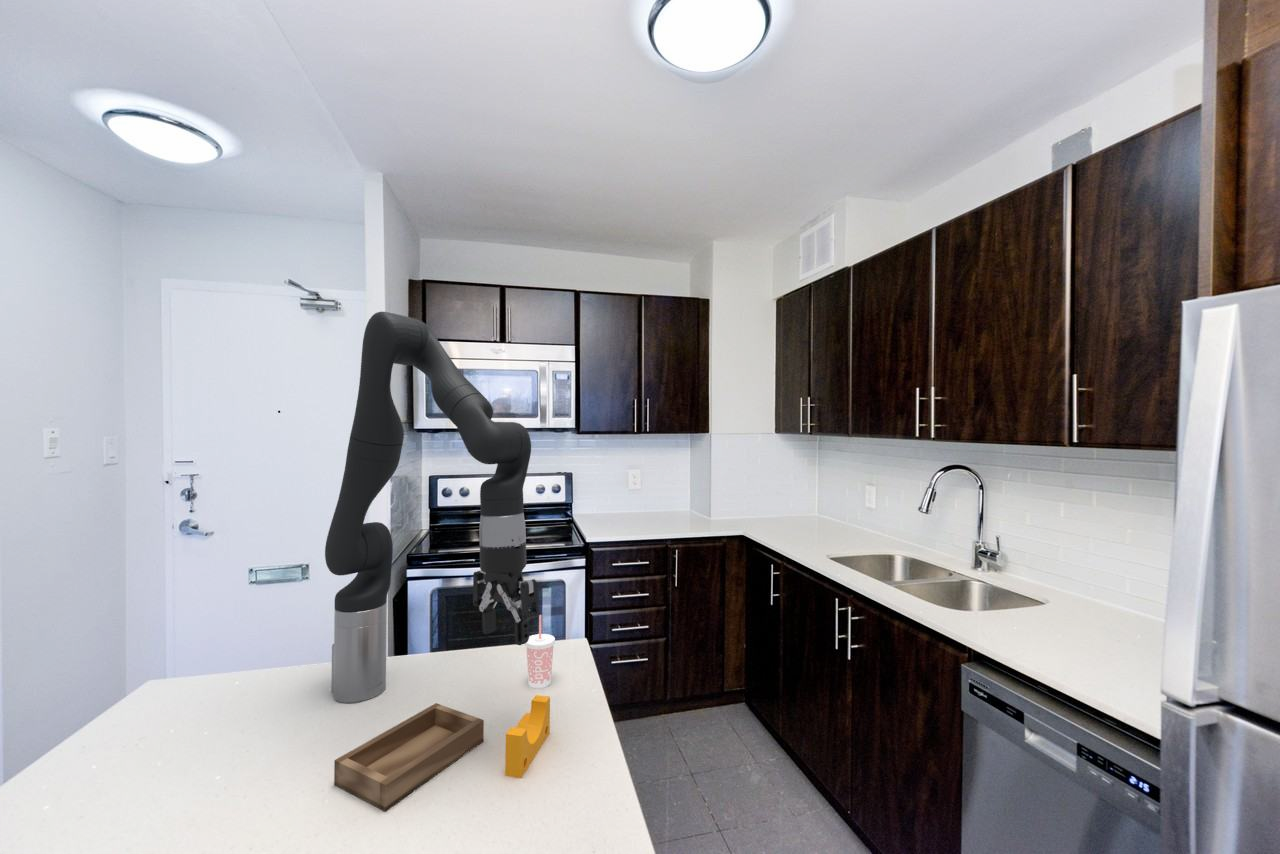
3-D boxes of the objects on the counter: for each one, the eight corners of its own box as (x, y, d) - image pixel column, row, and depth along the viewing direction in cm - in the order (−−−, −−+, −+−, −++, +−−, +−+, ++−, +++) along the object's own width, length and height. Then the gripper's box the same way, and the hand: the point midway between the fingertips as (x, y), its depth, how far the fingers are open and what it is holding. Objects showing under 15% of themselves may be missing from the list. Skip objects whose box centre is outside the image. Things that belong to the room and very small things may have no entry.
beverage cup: (520, 688, 106) (520, 619, 106) (530, 675, 112) (531, 609, 112) (549, 691, 105) (550, 621, 105) (558, 677, 111) (558, 610, 111)
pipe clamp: (525, 731, 91) (526, 694, 91) (549, 734, 90) (549, 696, 90) (494, 775, 79) (494, 732, 79) (521, 779, 79) (521, 736, 79)
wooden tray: (334, 784, 77) (334, 760, 77) (435, 723, 93) (435, 703, 93) (385, 811, 71) (385, 785, 72) (483, 741, 88) (483, 719, 88)
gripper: (458, 540, 89) (460, 636, 89) (512, 549, 80) (514, 655, 80) (495, 533, 95) (497, 623, 95) (548, 540, 86) (551, 639, 86)
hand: (505, 637), depth 87 cm, fingers open, 8 cm apart
